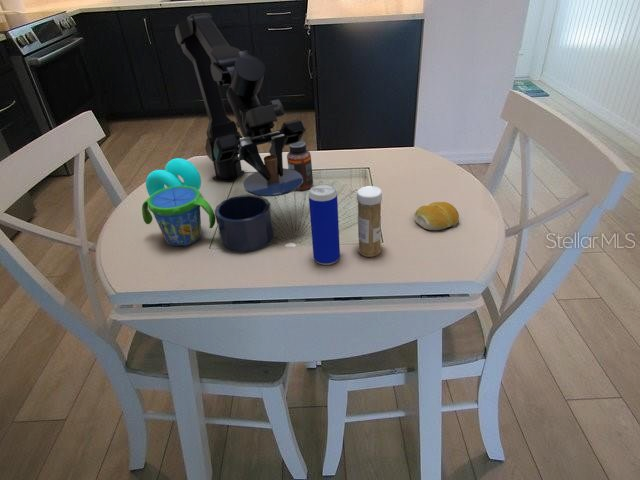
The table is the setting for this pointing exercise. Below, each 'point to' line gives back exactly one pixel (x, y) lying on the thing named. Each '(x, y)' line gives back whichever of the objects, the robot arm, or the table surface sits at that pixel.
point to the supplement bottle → (301, 163)
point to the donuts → (173, 176)
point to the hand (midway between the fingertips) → (275, 177)
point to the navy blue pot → (245, 223)
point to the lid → (273, 180)
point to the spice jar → (369, 220)
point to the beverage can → (324, 223)
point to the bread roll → (437, 216)
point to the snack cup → (178, 213)
